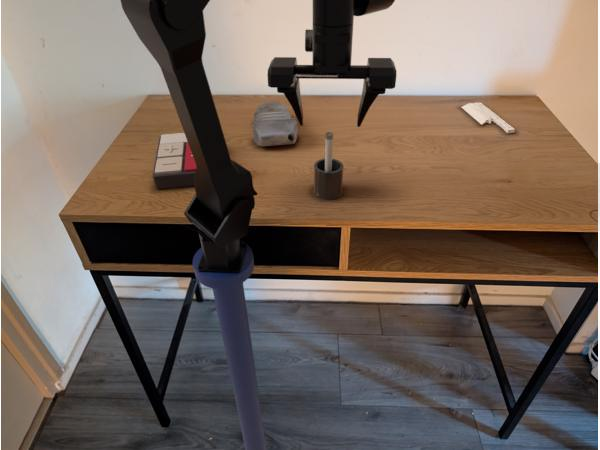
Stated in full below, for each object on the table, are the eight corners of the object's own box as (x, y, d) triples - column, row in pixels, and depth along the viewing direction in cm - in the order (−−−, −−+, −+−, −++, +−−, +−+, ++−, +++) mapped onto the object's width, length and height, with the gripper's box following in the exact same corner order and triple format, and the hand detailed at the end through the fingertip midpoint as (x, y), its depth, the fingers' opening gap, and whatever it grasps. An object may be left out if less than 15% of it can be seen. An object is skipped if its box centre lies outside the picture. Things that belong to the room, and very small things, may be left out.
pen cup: (342, 200, 76) (343, 173, 73) (313, 199, 76) (313, 172, 73) (342, 184, 80) (343, 158, 77) (314, 183, 80) (314, 157, 77)
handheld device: (289, 109, 107) (289, 91, 104) (300, 149, 91) (300, 129, 88) (250, 112, 106) (248, 94, 103) (255, 152, 90) (253, 132, 87)
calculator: (151, 173, 77) (158, 131, 88) (156, 192, 80) (163, 149, 91) (213, 167, 78) (212, 127, 89) (216, 186, 81) (215, 145, 92)
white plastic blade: (492, 135, 94) (493, 130, 94) (461, 107, 106) (462, 103, 105) (514, 132, 95) (515, 127, 94) (480, 105, 106) (481, 101, 106)
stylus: (331, 191, 77) (333, 135, 71) (324, 191, 78) (325, 135, 71) (331, 187, 78) (333, 132, 72) (324, 187, 78) (325, 132, 72)
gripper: (394, 8, 66) (384, 105, 76) (273, 8, 67) (278, 104, 77) (402, 28, 57) (389, 135, 67) (263, 28, 59) (270, 133, 68)
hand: (329, 125), depth 70 cm, fingers open, 9 cm apart
